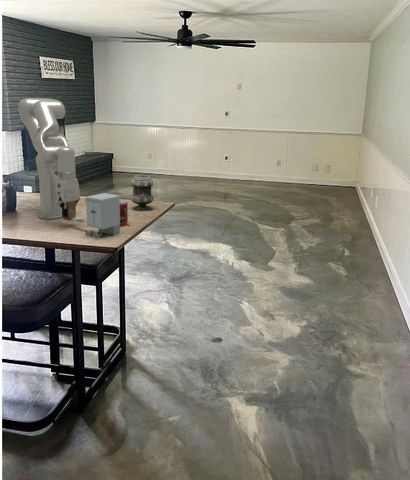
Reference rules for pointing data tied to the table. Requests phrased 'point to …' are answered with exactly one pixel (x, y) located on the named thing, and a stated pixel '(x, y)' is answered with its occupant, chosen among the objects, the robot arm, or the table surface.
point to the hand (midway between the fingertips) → (69, 215)
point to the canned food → (123, 213)
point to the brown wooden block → (73, 213)
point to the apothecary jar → (142, 192)
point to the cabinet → (104, 212)
